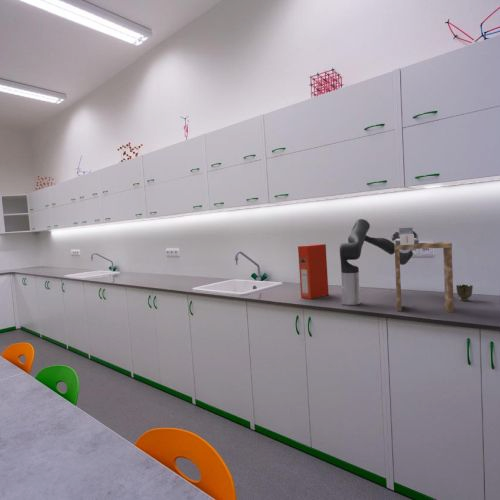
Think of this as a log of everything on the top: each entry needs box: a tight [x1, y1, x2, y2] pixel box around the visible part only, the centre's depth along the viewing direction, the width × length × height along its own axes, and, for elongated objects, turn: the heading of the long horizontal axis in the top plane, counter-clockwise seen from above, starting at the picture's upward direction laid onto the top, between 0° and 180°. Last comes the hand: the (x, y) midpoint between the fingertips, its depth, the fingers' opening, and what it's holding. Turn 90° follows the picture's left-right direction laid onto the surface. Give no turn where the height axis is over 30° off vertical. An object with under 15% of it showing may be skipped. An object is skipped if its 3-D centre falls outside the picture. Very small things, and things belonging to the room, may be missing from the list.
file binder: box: [297, 243, 330, 300], centre depth 222 cm, size 8×17×32 cm, turn 131°
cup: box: [455, 284, 474, 302], centre depth 186 cm, size 8×7×8 cm
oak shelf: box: [394, 241, 455, 314], centre depth 173 cm, size 24×13×32 cm, turn 68°
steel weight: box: [398, 226, 414, 236], centre depth 184 cm, size 6×20×4 cm, turn 159°
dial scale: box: [394, 234, 420, 245], centre depth 174 cm, size 10×13×5 cm
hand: (404, 229), depth 188 cm, fingers closed on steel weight, 3 cm apart
